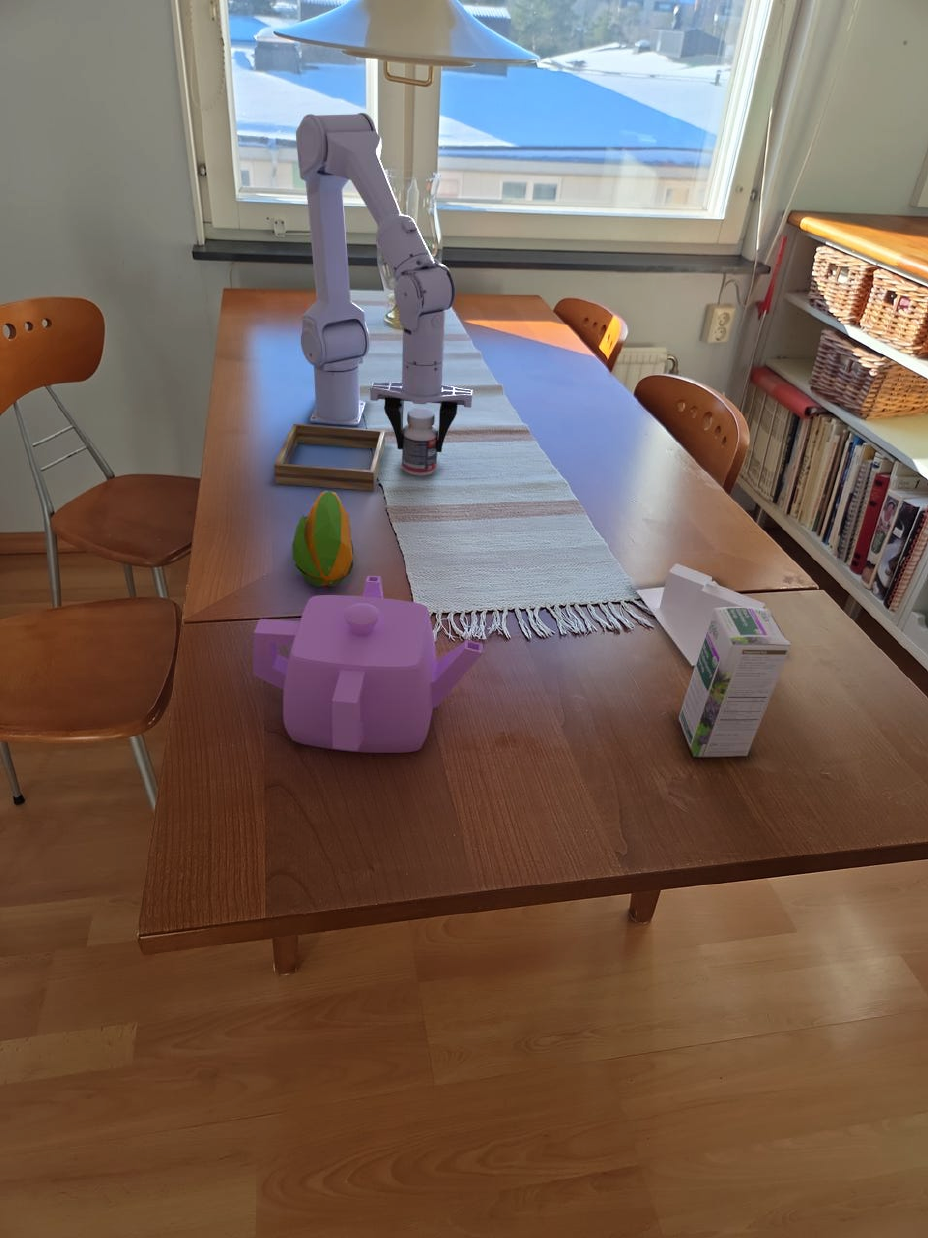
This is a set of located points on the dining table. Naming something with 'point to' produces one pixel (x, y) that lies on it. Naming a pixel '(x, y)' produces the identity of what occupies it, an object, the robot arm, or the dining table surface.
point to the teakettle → (359, 671)
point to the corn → (324, 542)
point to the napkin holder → (690, 606)
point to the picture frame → (327, 474)
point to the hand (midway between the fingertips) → (419, 447)
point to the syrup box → (732, 681)
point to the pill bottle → (420, 442)
